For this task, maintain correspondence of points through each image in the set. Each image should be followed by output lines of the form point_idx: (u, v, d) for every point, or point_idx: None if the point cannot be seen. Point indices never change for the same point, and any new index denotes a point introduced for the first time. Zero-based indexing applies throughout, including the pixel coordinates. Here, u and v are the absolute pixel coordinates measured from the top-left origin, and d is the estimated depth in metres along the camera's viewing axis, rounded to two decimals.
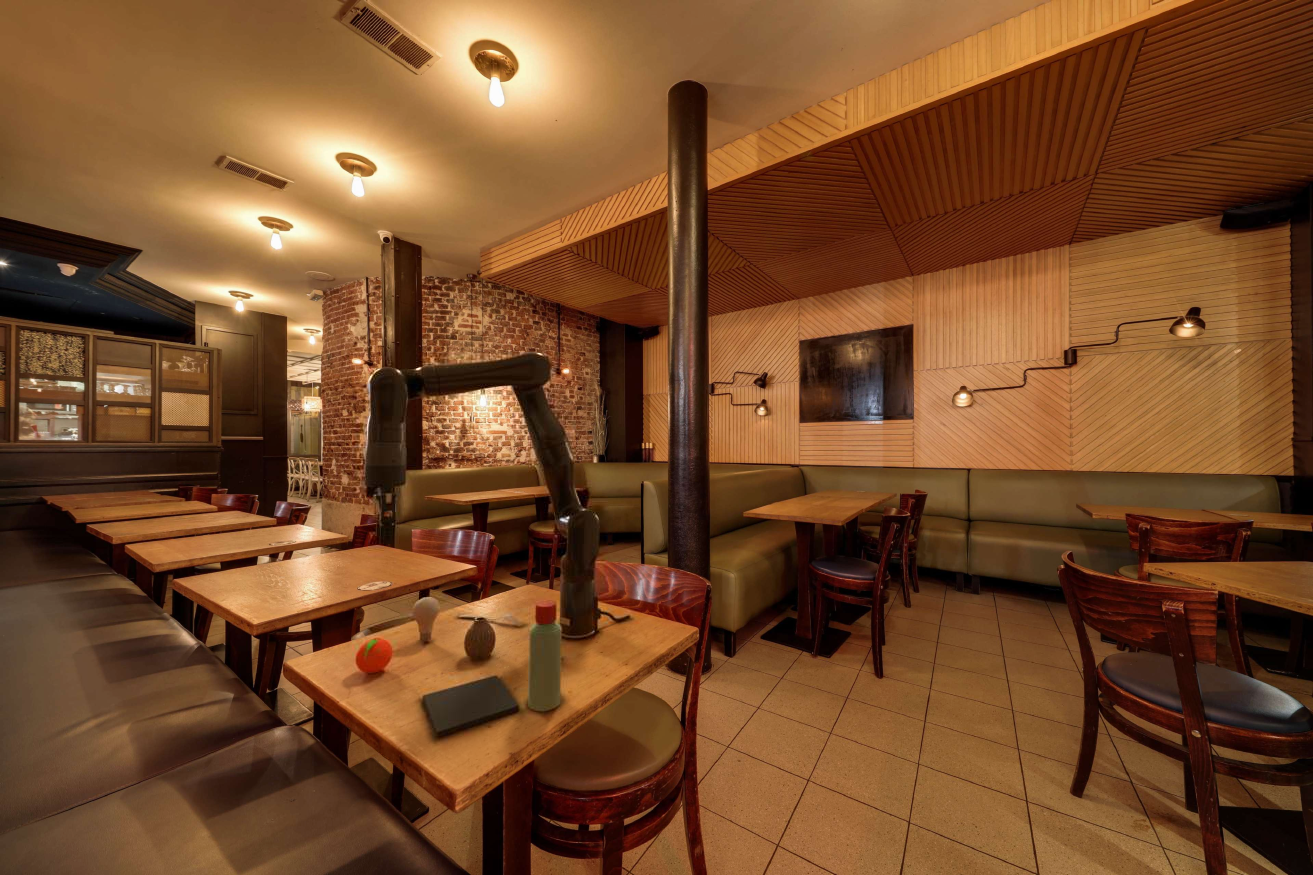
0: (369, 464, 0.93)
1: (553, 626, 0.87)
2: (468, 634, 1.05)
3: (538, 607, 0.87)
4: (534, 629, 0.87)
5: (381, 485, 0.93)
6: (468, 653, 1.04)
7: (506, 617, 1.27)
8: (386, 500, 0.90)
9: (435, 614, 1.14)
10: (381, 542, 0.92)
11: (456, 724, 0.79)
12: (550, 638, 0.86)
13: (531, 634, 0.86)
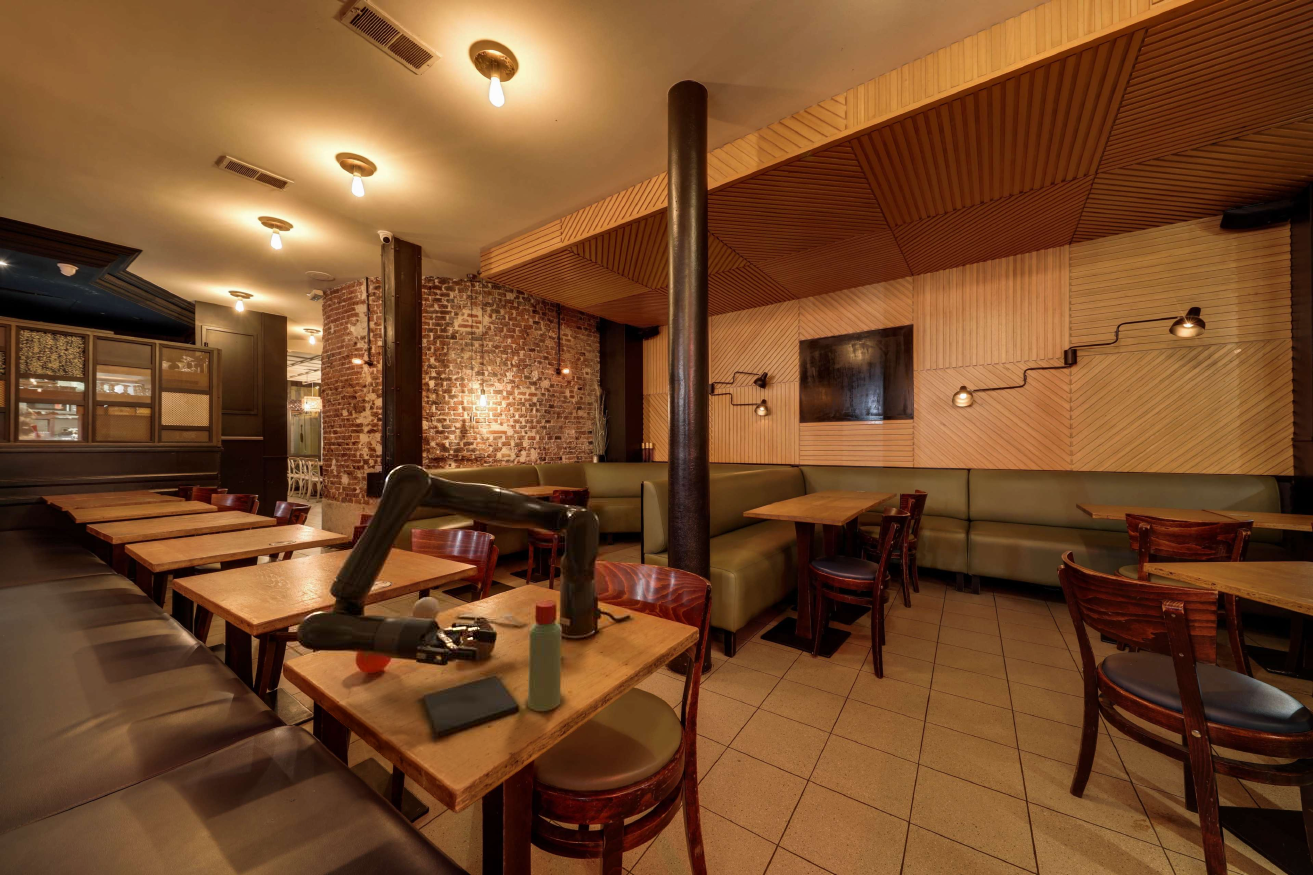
0: (399, 658, 0.88)
1: (553, 626, 0.87)
2: None
3: (538, 607, 0.87)
4: (534, 629, 0.87)
5: (417, 652, 0.86)
6: None
7: (506, 617, 1.27)
8: (422, 658, 0.83)
9: (435, 614, 1.14)
10: (473, 660, 0.85)
11: (456, 724, 0.79)
12: (550, 638, 0.86)
13: (531, 634, 0.86)
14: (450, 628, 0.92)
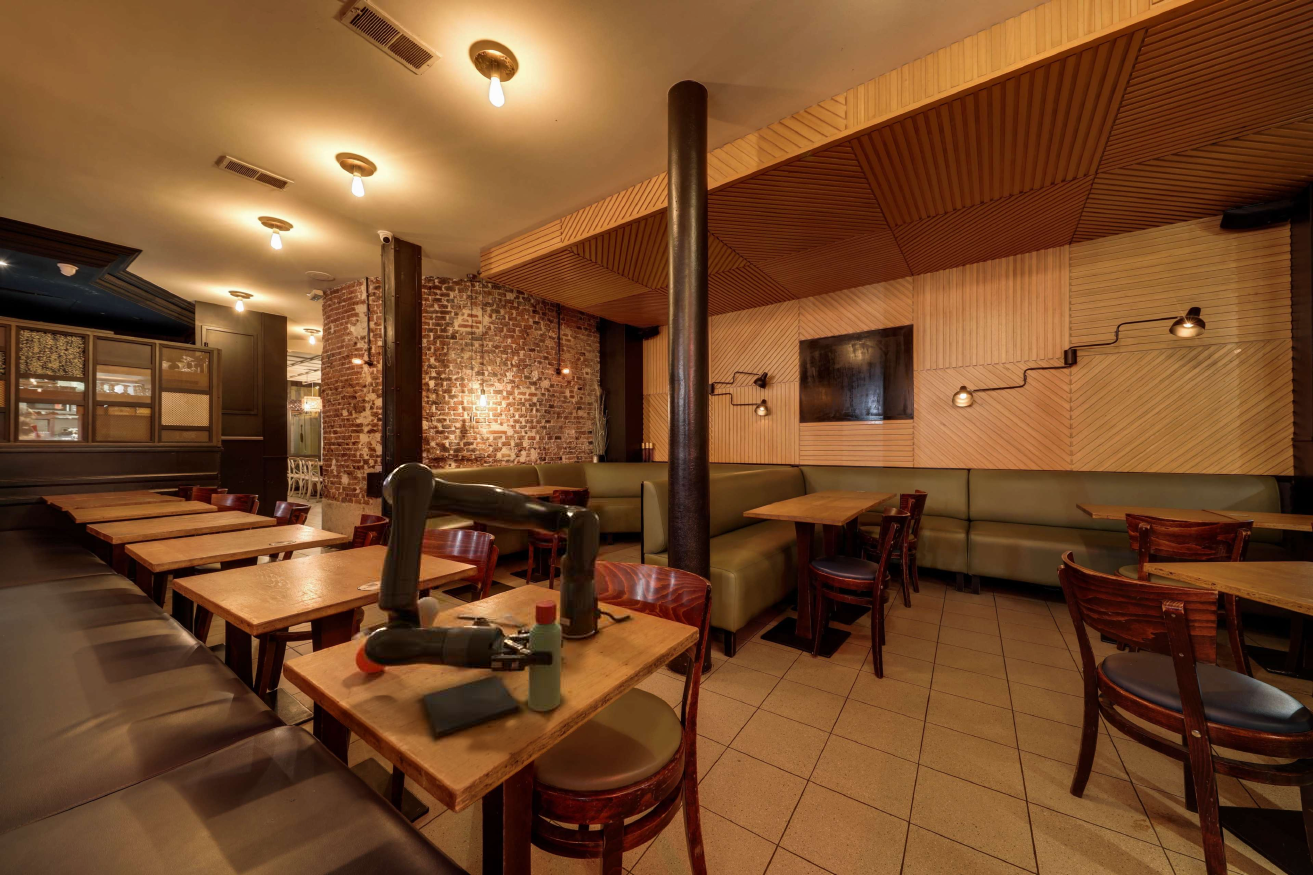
0: (469, 667, 0.87)
1: (553, 626, 0.87)
2: None
3: (538, 607, 0.87)
4: (534, 629, 0.87)
5: (487, 661, 0.85)
6: None
7: (506, 617, 1.27)
8: (498, 666, 0.82)
9: (435, 614, 1.14)
10: (549, 663, 0.85)
11: (456, 724, 0.79)
12: (550, 638, 0.86)
13: (531, 634, 0.86)
14: (515, 635, 0.91)
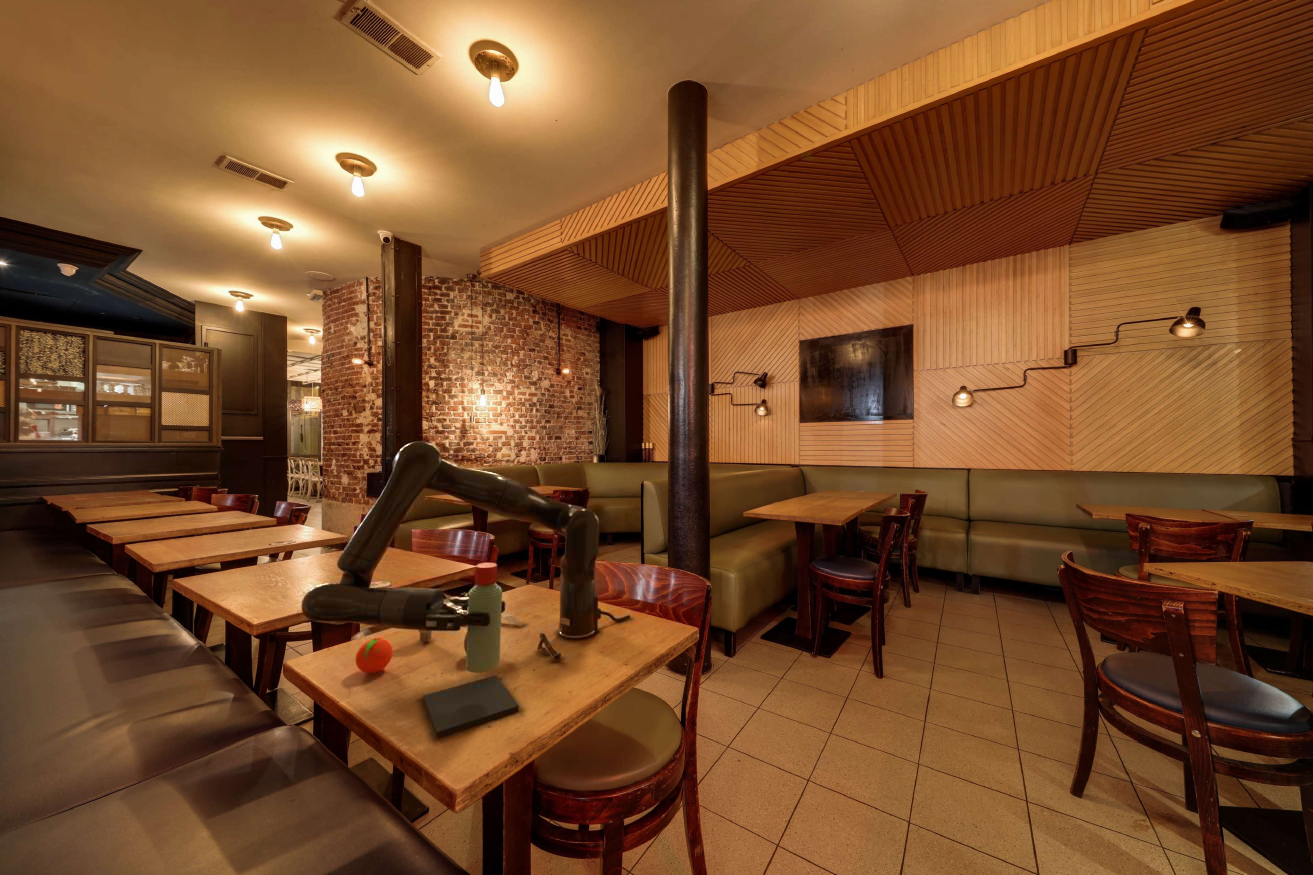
0: (406, 628, 0.86)
1: (492, 588, 0.86)
2: None
3: (477, 568, 0.86)
4: (473, 590, 0.86)
5: (423, 621, 0.85)
6: None
7: (506, 617, 1.27)
8: (432, 626, 0.81)
9: None
10: (486, 624, 0.84)
11: (456, 724, 0.79)
12: (488, 600, 0.85)
13: (469, 595, 0.85)
14: (456, 597, 0.90)
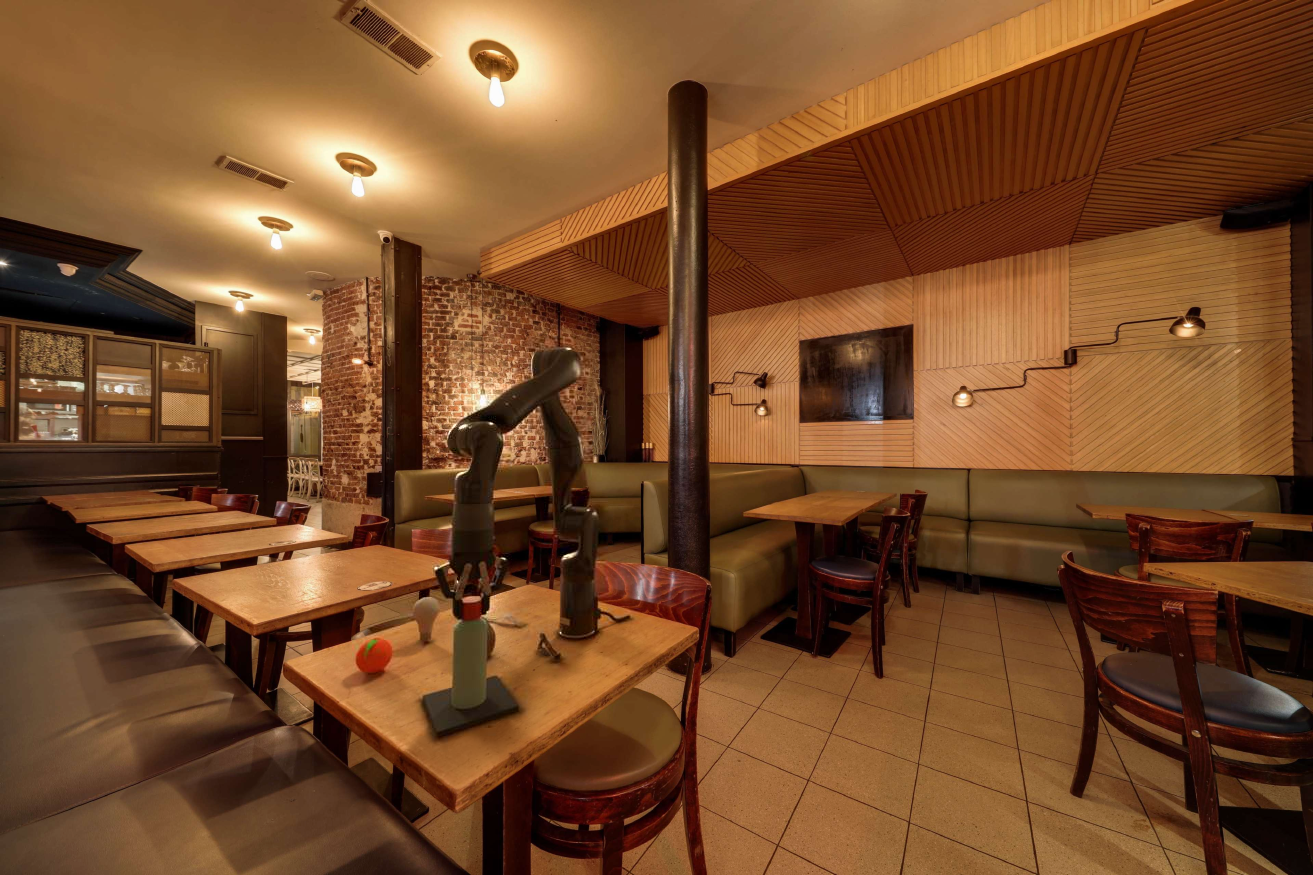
0: None
1: (477, 622, 0.86)
2: None
3: None
4: (457, 625, 0.86)
5: (451, 549, 0.86)
6: None
7: (506, 617, 1.27)
8: (435, 575, 0.84)
9: (435, 614, 1.14)
10: None
11: (456, 724, 0.79)
12: (473, 635, 0.85)
13: (454, 630, 0.85)
14: (484, 567, 0.87)
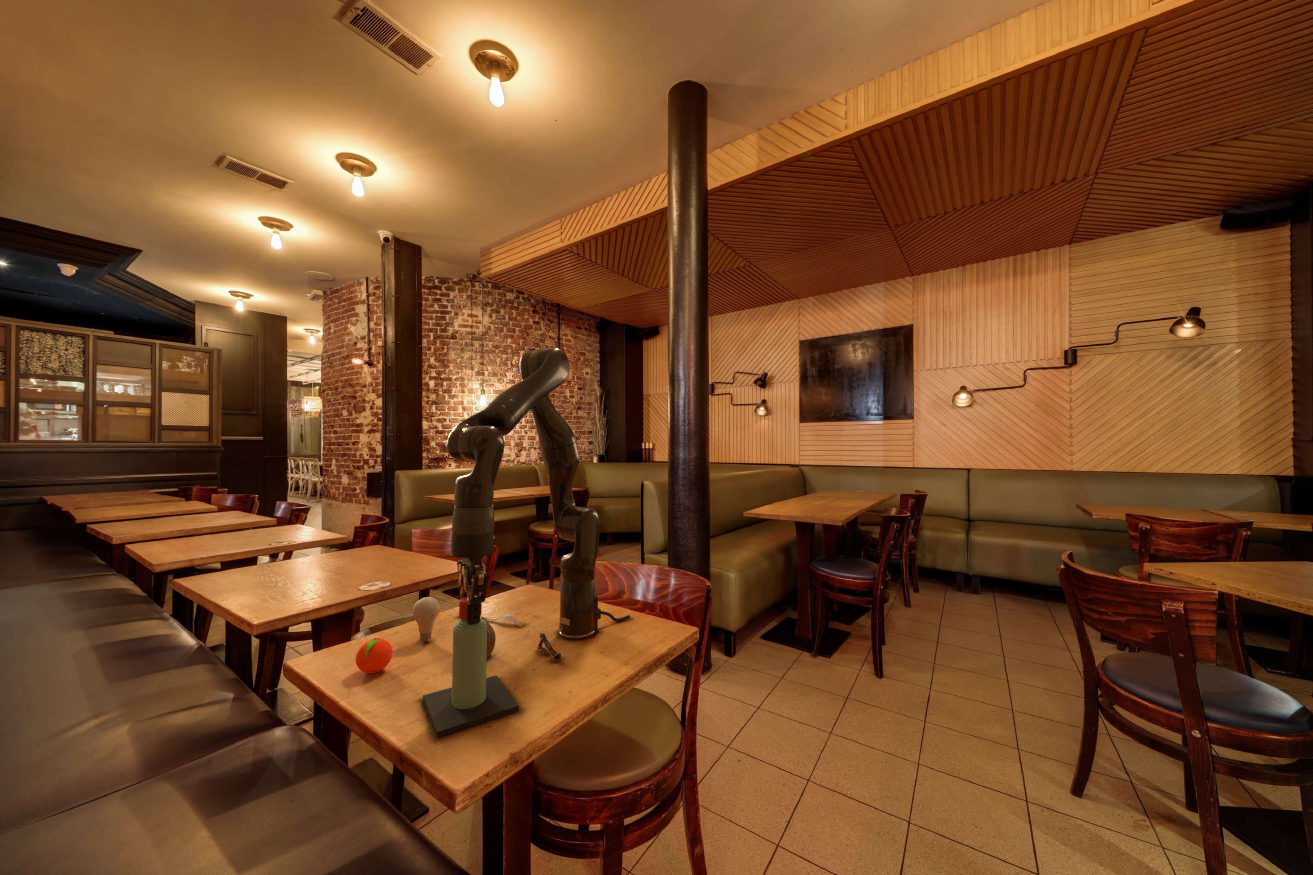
0: (458, 533, 0.84)
1: (477, 623, 0.86)
2: None
3: None
4: (457, 626, 0.86)
5: (471, 556, 0.84)
6: None
7: (506, 617, 1.27)
8: (478, 582, 0.82)
9: (435, 614, 1.14)
10: (469, 622, 0.85)
11: (456, 724, 0.79)
12: (473, 635, 0.85)
13: (454, 631, 0.85)
14: None
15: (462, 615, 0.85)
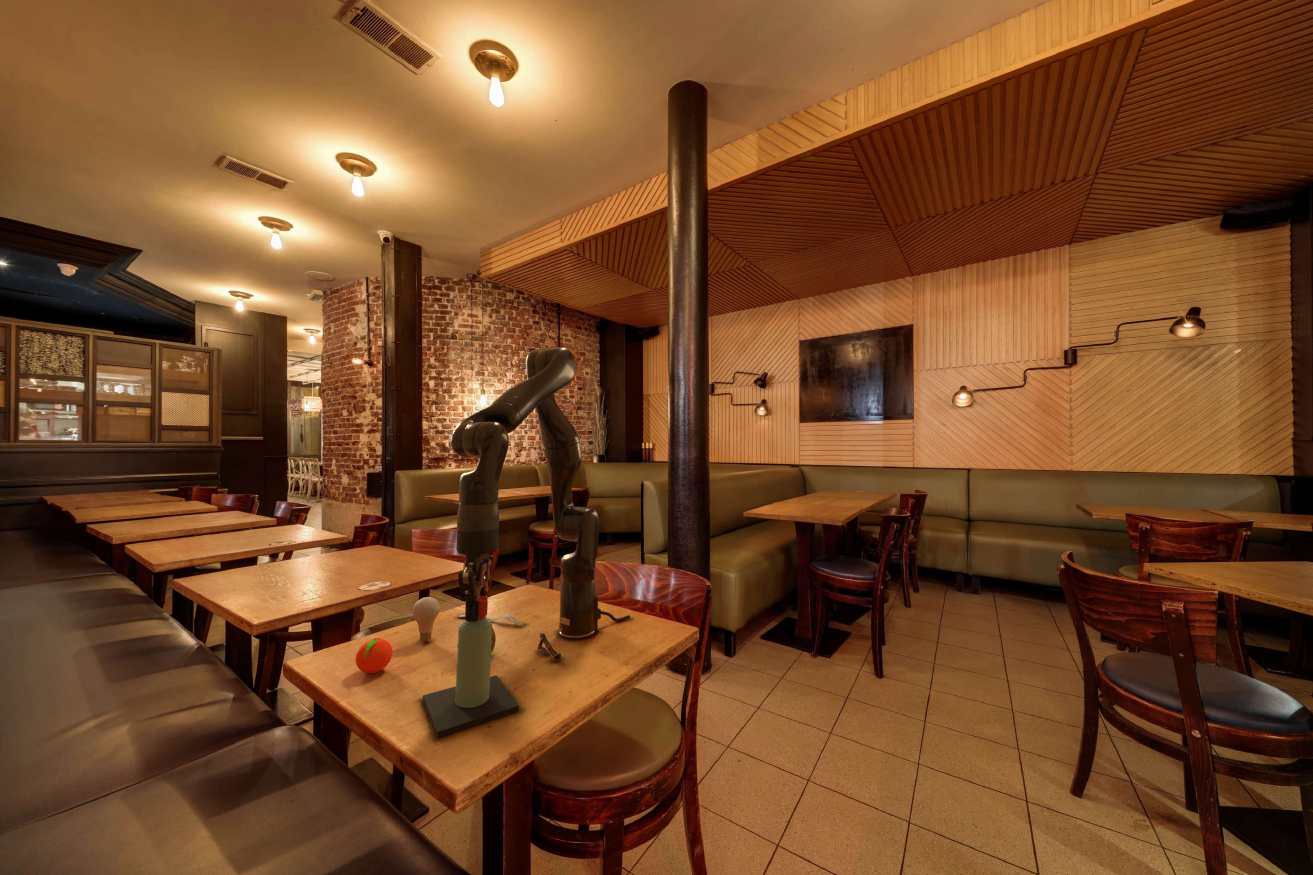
0: (457, 528, 0.85)
1: (482, 623, 0.86)
2: None
3: (487, 599, 0.88)
4: (463, 625, 0.85)
5: (465, 553, 0.84)
6: None
7: (506, 617, 1.27)
8: (463, 581, 0.81)
9: (435, 614, 1.14)
10: (466, 619, 0.84)
11: (456, 724, 0.79)
12: (478, 635, 0.85)
13: (459, 630, 0.85)
14: (490, 564, 0.89)
15: None
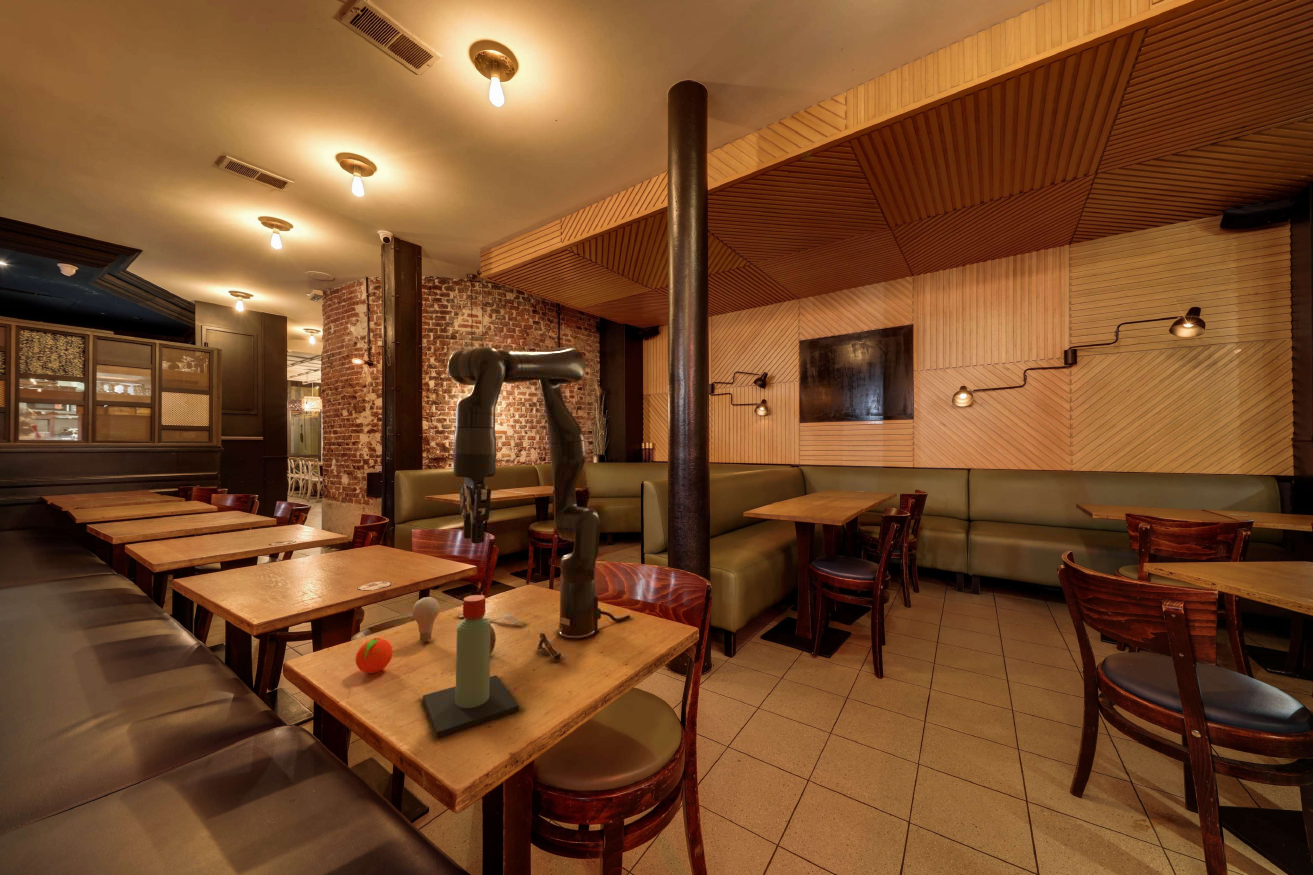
0: (460, 452, 0.84)
1: (480, 622, 0.86)
2: None
3: None
4: (461, 625, 0.86)
5: (474, 475, 0.84)
6: None
7: (506, 617, 1.27)
8: (481, 497, 0.82)
9: (435, 614, 1.14)
10: (473, 541, 0.84)
11: (456, 724, 0.79)
12: (476, 634, 0.85)
13: (457, 630, 0.86)
14: None
15: (482, 612, 0.87)
